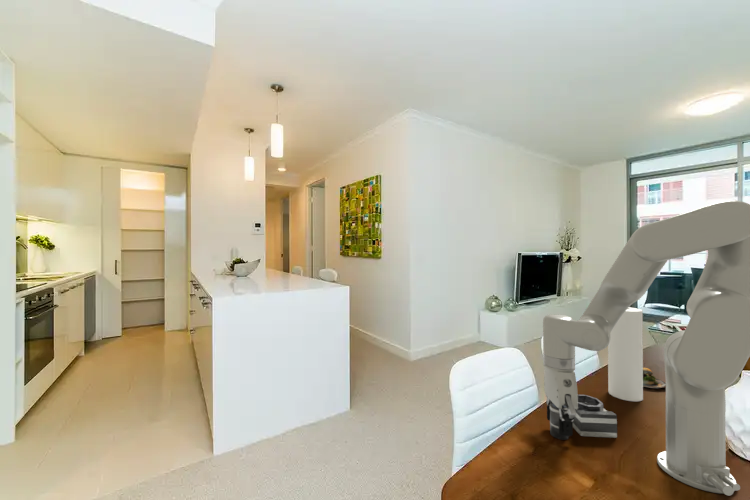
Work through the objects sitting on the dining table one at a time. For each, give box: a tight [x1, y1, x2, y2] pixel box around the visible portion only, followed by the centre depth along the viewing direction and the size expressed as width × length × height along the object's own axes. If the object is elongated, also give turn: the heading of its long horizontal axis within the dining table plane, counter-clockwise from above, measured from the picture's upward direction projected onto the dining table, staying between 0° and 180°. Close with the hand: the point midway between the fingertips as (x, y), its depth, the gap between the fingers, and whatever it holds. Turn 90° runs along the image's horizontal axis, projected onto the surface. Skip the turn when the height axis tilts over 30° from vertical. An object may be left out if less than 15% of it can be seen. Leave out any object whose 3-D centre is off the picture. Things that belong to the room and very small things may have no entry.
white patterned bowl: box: [643, 364, 666, 390], centre depth 120 cm, size 12×12×8 cm
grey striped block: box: [573, 394, 618, 439], centre depth 93 cm, size 12×9×7 cm
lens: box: [549, 402, 570, 441], centre depth 88 cm, size 5×5×8 cm
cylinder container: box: [607, 306, 644, 402], centre depth 111 cm, size 9×9×30 cm
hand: (559, 426), depth 88 cm, fingers open, 6 cm apart
